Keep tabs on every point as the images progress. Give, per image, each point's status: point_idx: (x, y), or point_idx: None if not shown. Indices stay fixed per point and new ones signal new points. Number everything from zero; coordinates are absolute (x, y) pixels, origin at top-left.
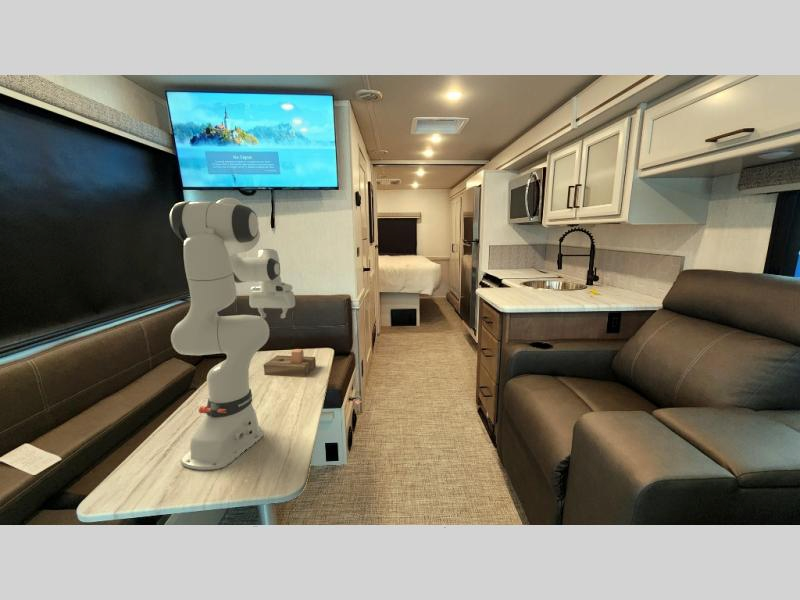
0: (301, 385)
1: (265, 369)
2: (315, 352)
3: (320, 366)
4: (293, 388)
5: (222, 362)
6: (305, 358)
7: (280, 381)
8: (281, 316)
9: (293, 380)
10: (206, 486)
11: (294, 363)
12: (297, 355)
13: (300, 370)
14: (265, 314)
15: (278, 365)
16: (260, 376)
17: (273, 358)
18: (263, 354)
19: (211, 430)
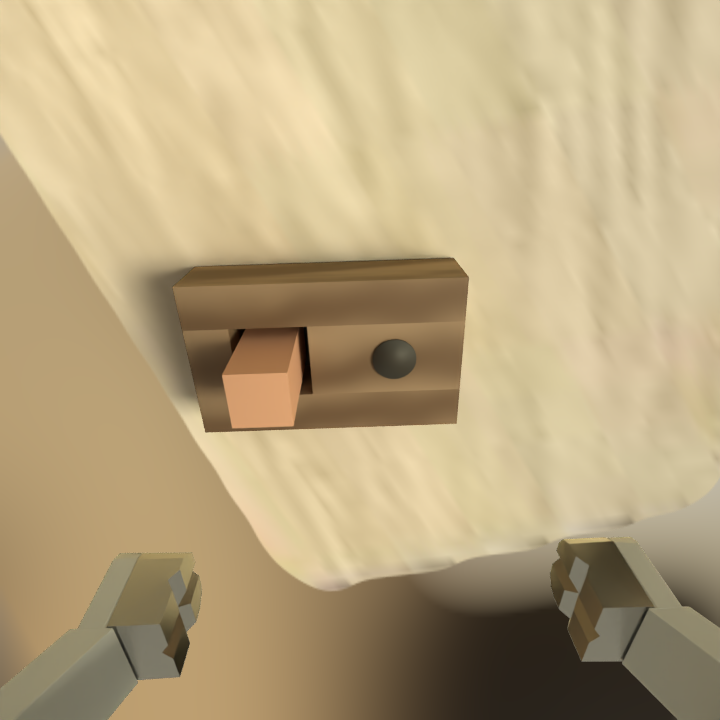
0: (144, 156)
1: (450, 268)
2: (332, 546)
3: None
4: (164, 104)
5: None
6: None
7: (307, 190)
8: (152, 578)
9: (237, 216)
10: None
11: (271, 325)
12: (244, 362)
13: (210, 277)
14: (576, 626)
15: (358, 280)
16: (469, 237)
17: (455, 377)
18: (593, 494)
19: None
